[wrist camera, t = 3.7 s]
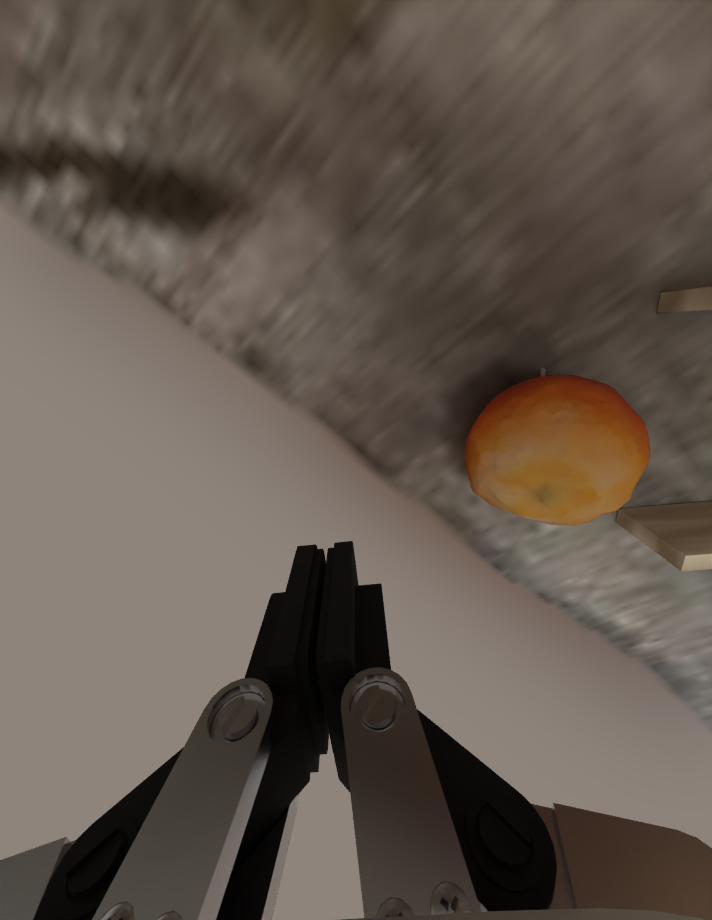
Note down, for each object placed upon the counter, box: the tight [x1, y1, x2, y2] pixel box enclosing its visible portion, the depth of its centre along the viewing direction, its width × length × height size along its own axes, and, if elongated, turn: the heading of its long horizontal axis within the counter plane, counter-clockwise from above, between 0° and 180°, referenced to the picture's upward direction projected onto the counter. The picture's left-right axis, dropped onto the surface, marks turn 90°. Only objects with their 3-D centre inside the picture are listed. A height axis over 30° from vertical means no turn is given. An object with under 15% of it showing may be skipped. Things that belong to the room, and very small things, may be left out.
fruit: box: [465, 368, 650, 525], centre depth 18 cm, size 8×8×8 cm
